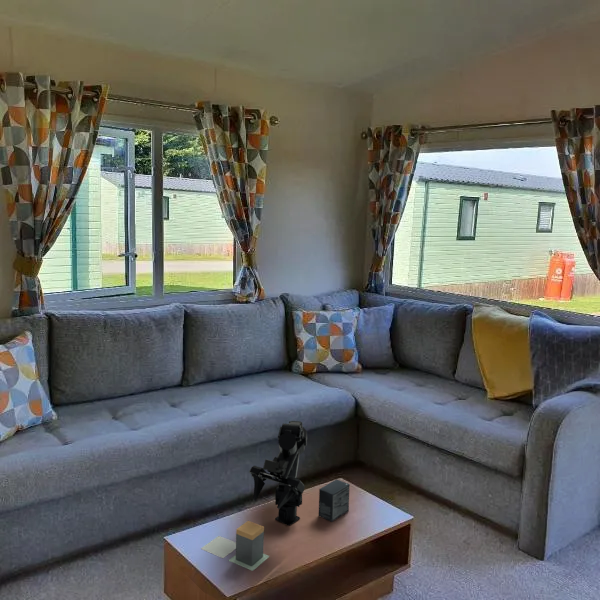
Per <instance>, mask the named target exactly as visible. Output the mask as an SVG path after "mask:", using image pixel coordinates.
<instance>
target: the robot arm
mask: <svg viewBox="0 0 600 600" xmlns="http://www.w3.org/2000/svg"><path fill="white" fill-rule="evenodd" d="M277 440H278V442H277V443H278V447H279V452H278V455H277V456H275V457H274V458H273V460H271V459H266V458H265V460H264V463H263V467H260V466H257V465H253V466H251V467H250V470H249V471H248V473H249V474H250V475H251V477H252V479H253V481H254V483H253V484H254V485H253V486H254V487H253V494H252V495H253V497H252V500H253V501H256V500H257V499H258V498H259V496H260V494H261V492H262V490H263V488H264V486H265V485H266V482H265V481H266V480H270V481H272V482H274V483H278V485H277V487H276V488H275V492H274V496H275V498H274V501H275V502H274V503H275V505H276V508H277V509H278V514H277V516H275V518H274V520H275V521H277V522H279V523H282V524H283V525H286V526H288V527H289V526H292V525H293V524H294V523H296V522H297V521H299V520H300V519H301V517H300V516H298V515H297V511H298V507H299V508H300V506H301V505H303V494H304V491H305V484H304V483H303V482H302V481H301V480H300V479H299V478H298V477H297V475H298V468H299V461H300V456H301V455H302V454H303V453H304V452H305V447H307V445H308V431H307V430H306V429H305V427H304V426H303V421H300V420H299V421H298V420H290V421H289V422H288V423H282V425H281V426H279V431H278V434H277ZM266 471H267V472H266Z"/></svg>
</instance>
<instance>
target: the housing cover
mask: <svg viewBox="0 0 600 600" xmlns="http://www.w3.org/2000/svg"><path fill="white" fill-rule="evenodd" d="M235 530H236V531H235V535H236V534H238V535H240V536H243V537H246V538H248V539H251V540H253V539H255V538H256V537H257V536H258V535H260V534H261V533H262V532H264V533H265V526H263V525H261V524H258V523H256V522H253V521H251V520H250V521H249V520H247V521H245V522H244V523H243V524H242V525H239V527H237V528H236V529H235Z"/></svg>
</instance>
